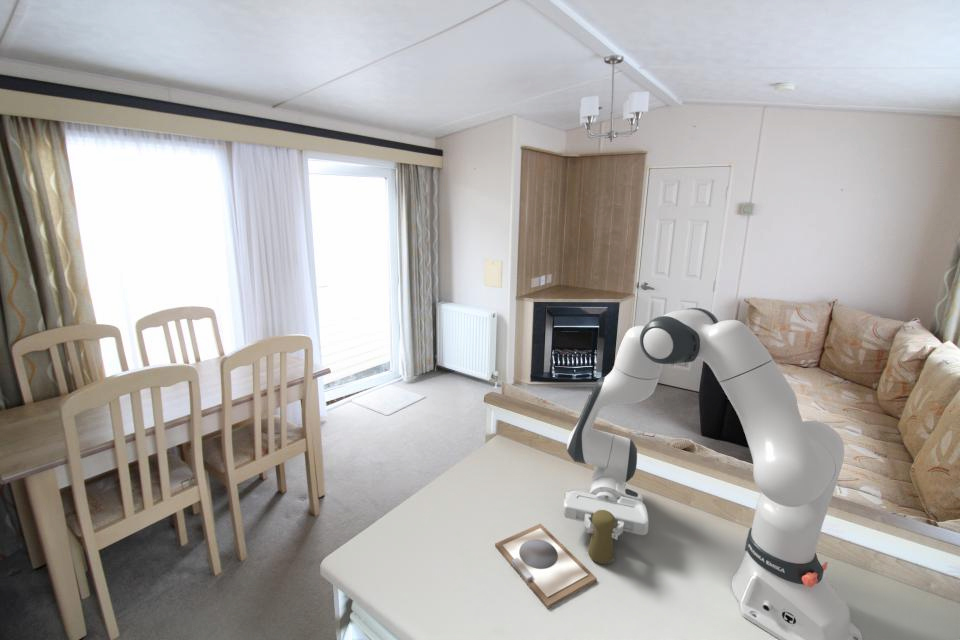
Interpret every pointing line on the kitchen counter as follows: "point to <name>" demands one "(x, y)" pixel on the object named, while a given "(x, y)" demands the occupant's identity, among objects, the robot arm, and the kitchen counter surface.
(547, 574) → the clipboard
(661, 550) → the kitchen counter surface
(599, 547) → the cork
